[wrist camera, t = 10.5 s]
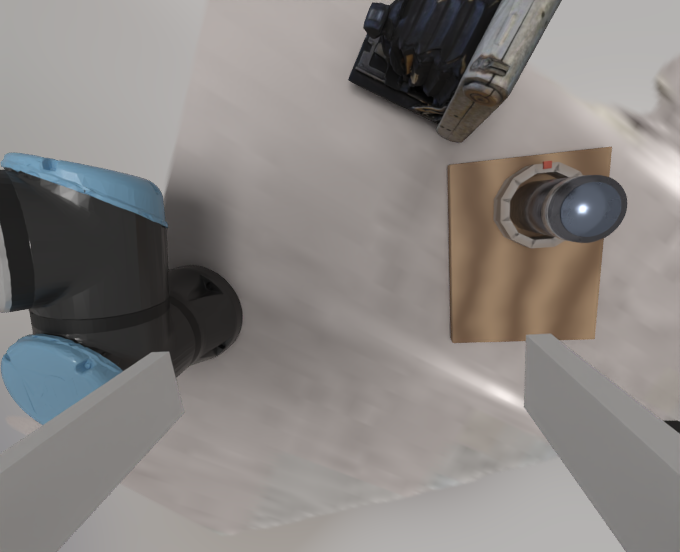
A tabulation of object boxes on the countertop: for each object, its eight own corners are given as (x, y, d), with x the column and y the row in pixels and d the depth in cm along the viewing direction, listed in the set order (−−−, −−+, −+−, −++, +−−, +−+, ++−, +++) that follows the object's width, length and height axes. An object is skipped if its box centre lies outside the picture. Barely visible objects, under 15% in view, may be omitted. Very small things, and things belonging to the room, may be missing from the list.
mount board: (450, 338, 46) (457, 352, 42) (447, 166, 40) (454, 162, 36) (587, 334, 43) (609, 348, 39) (603, 148, 38) (630, 142, 34)
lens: (507, 233, 40) (551, 246, 29) (508, 183, 39) (554, 178, 28) (560, 228, 39) (626, 241, 28) (562, 177, 38) (633, 169, 27)
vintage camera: (384, 15, 38) (370, -171, 19) (501, 67, 37) (611, -73, 18) (350, 97, 41) (308, 6, 22) (459, 147, 40) (514, 99, 21)
